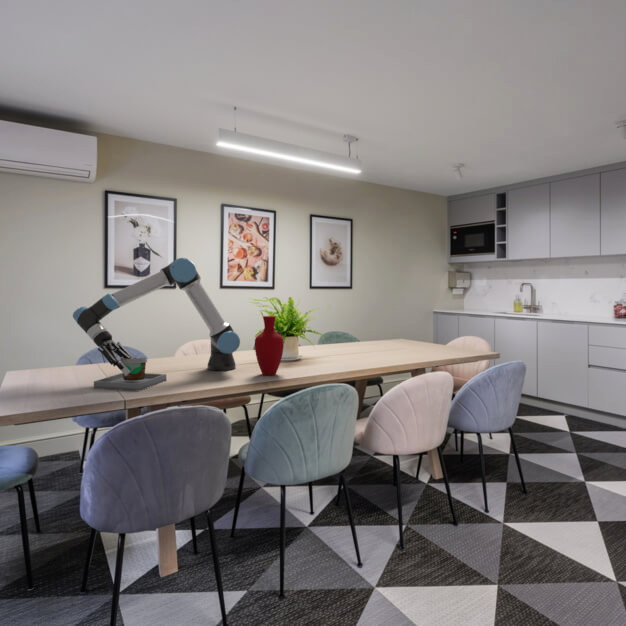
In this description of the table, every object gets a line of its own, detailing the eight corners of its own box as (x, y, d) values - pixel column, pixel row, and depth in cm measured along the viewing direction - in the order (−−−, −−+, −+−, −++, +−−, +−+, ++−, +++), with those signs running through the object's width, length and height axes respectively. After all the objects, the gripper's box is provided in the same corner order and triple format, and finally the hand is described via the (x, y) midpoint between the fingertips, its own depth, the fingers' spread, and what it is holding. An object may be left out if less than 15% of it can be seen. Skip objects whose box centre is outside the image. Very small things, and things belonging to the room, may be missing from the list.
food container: (114, 380, 199) (114, 358, 198) (122, 377, 205) (122, 356, 204) (140, 381, 197) (140, 359, 197) (147, 379, 203) (147, 357, 203)
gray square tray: (166, 380, 210) (166, 374, 210) (139, 391, 188) (139, 384, 188) (124, 378, 214) (124, 372, 214) (93, 388, 193) (93, 381, 192)
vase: (272, 378, 217) (273, 317, 216) (248, 375, 225) (248, 316, 223) (288, 373, 230) (289, 316, 229) (265, 370, 238) (265, 315, 236)
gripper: (108, 338, 213) (139, 374, 211) (80, 343, 194) (114, 382, 192) (117, 328, 212) (149, 363, 210) (90, 331, 193) (125, 370, 191)
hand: (132, 372), depth 201 cm, fingers closed on food container, 6 cm apart
